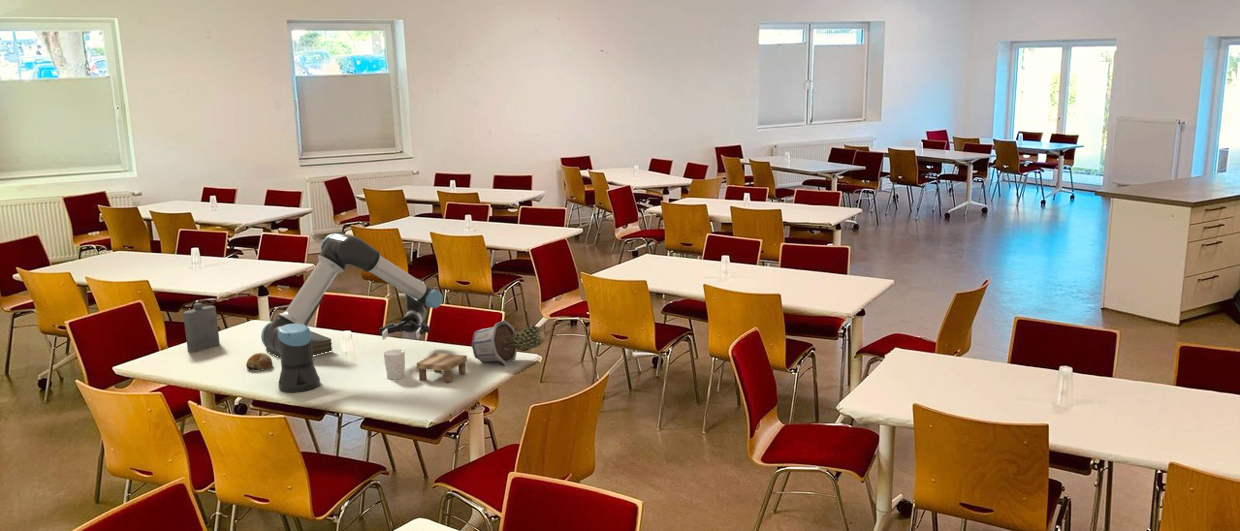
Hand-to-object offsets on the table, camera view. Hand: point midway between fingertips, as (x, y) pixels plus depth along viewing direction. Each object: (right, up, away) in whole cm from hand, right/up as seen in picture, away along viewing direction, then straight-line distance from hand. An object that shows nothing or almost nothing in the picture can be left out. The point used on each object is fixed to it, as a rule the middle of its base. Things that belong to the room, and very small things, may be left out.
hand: (400, 335), depth 384 cm
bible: (-51, -10, +31) cm, 60 cm away
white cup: (0, -16, -7) cm, 17 cm away
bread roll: (-60, -14, +10) cm, 62 cm away
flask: (-97, -9, +42) cm, 106 cm away
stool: (+19, -15, -9) cm, 26 cm away
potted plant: (+43, -12, +7) cm, 45 cm away
